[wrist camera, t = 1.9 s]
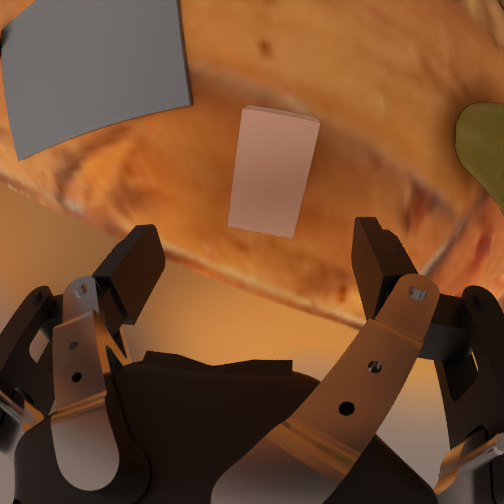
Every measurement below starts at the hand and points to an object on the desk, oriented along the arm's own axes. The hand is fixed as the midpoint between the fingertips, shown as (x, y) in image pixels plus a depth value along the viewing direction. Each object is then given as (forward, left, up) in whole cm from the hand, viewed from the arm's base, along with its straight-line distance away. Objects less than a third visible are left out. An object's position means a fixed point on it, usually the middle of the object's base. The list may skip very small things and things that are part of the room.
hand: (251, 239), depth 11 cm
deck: (0, 0, -10) cm, 10 cm away
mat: (+15, -13, -10) cm, 22 cm away
